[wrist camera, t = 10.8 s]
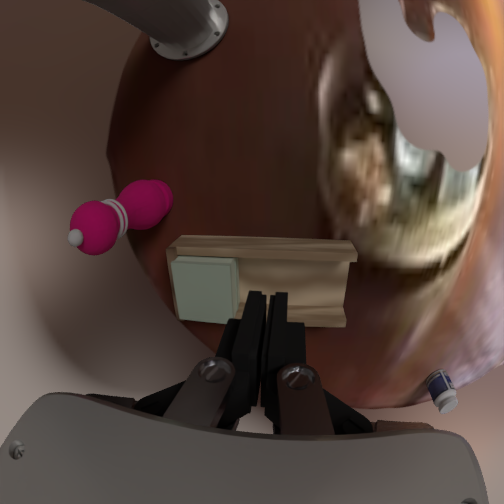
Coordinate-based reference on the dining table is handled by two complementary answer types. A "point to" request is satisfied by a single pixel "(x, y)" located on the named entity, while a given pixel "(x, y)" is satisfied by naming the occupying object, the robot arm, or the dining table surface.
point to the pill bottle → (442, 391)
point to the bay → (281, 272)
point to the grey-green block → (206, 287)
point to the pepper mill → (119, 215)
